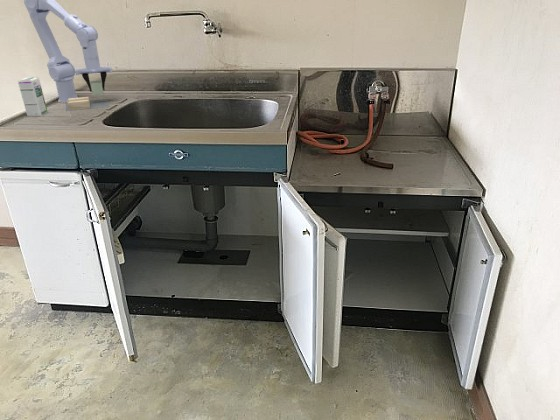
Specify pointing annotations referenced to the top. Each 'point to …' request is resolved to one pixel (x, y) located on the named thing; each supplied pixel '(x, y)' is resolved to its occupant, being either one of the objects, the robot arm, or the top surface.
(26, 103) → the syrup box
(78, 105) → the oak base
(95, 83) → the sage block
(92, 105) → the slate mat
